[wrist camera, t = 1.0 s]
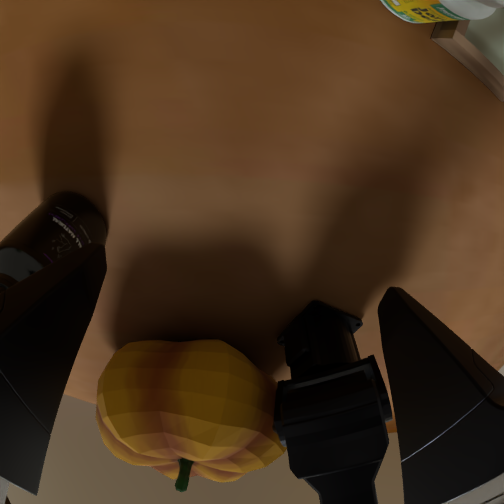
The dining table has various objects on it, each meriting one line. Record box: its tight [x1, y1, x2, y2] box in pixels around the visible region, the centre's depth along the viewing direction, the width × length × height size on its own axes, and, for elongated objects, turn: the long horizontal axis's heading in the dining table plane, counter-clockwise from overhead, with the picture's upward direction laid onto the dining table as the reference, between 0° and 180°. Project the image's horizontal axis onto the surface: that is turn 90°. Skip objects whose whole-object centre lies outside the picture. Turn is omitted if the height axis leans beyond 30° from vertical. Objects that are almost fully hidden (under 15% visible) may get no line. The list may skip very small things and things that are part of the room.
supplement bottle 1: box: [0, 191, 107, 293], centre depth 18 cm, size 7×7×12 cm
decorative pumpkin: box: [96, 339, 287, 492], centre depth 28 cm, size 20×22×15 cm
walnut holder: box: [431, 8, 504, 102], centre depth 12 cm, size 9×9×3 cm
